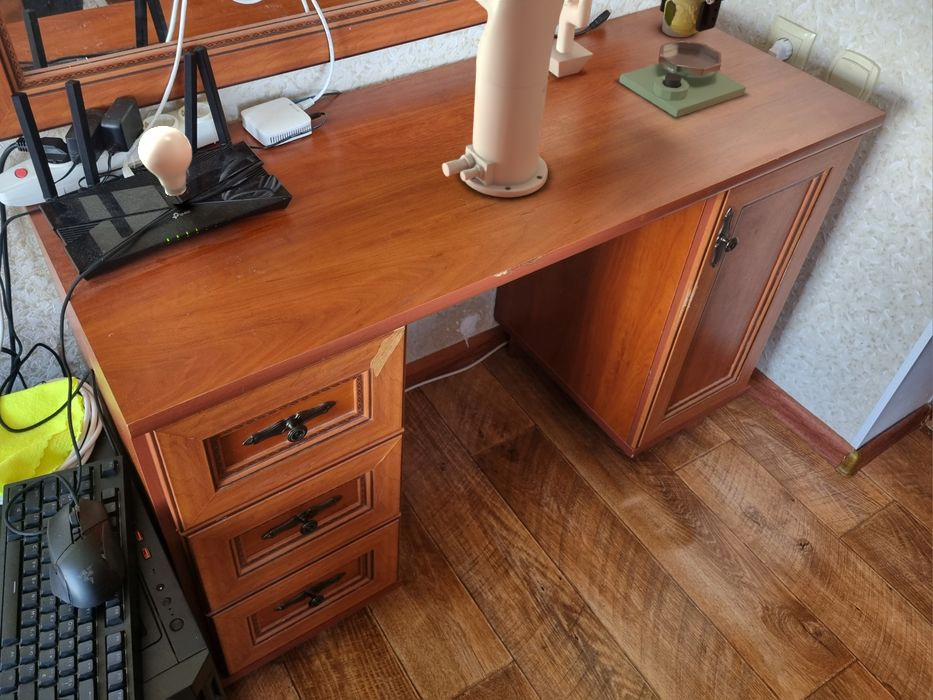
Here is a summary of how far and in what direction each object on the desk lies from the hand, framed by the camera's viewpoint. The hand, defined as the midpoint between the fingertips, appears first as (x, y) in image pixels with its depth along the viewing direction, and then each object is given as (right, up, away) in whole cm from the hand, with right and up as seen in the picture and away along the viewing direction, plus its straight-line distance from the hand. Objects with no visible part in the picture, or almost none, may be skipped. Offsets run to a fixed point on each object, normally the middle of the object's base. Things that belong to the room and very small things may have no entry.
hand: (686, 18), depth 111 cm
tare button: (+3, -3, +18) cm, 19 cm away
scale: (+6, -2, +24) cm, 24 cm away
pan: (+7, +2, +23) cm, 24 cm away
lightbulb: (-70, -27, -5) cm, 75 cm away
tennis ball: (0, -2, +2) cm, 2 cm away
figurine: (-15, +2, +27) cm, 31 cm away
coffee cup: (+9, +14, +40) cm, 44 cm away
